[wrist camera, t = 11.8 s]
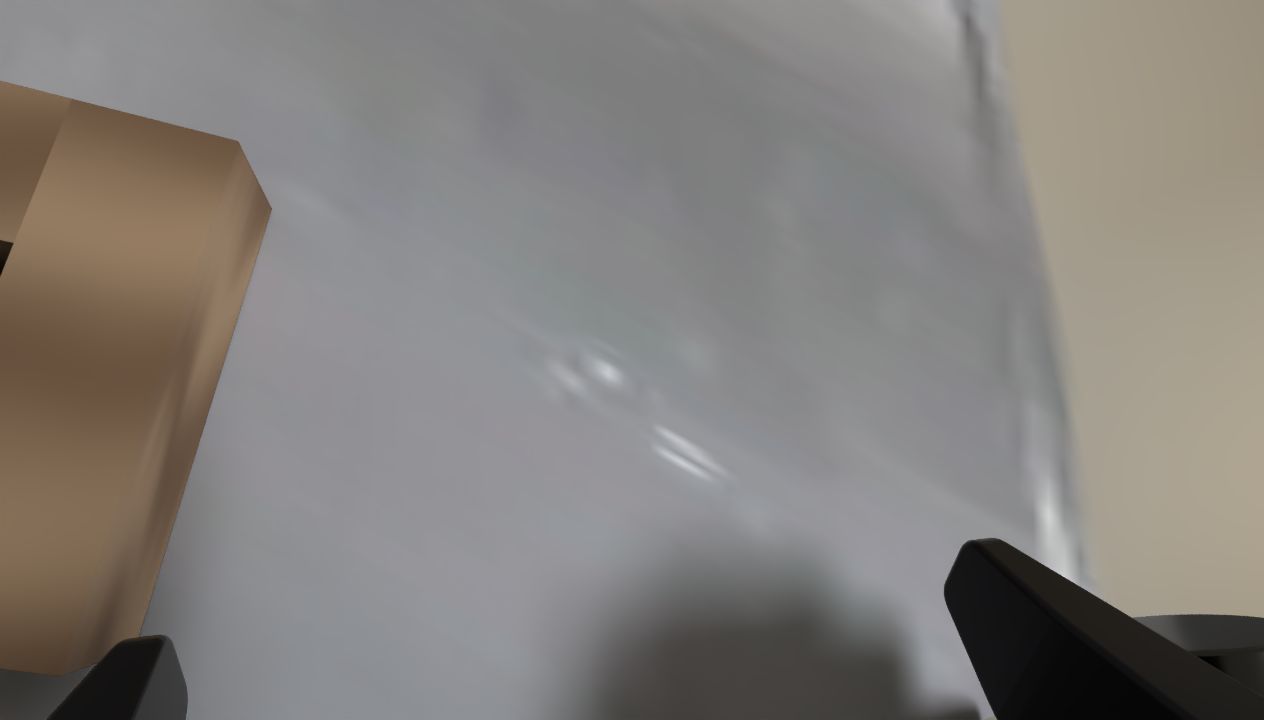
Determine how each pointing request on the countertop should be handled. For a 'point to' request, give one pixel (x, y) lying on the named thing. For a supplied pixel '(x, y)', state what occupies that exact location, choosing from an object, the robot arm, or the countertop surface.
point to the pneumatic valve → (1217, 643)
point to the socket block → (106, 357)
